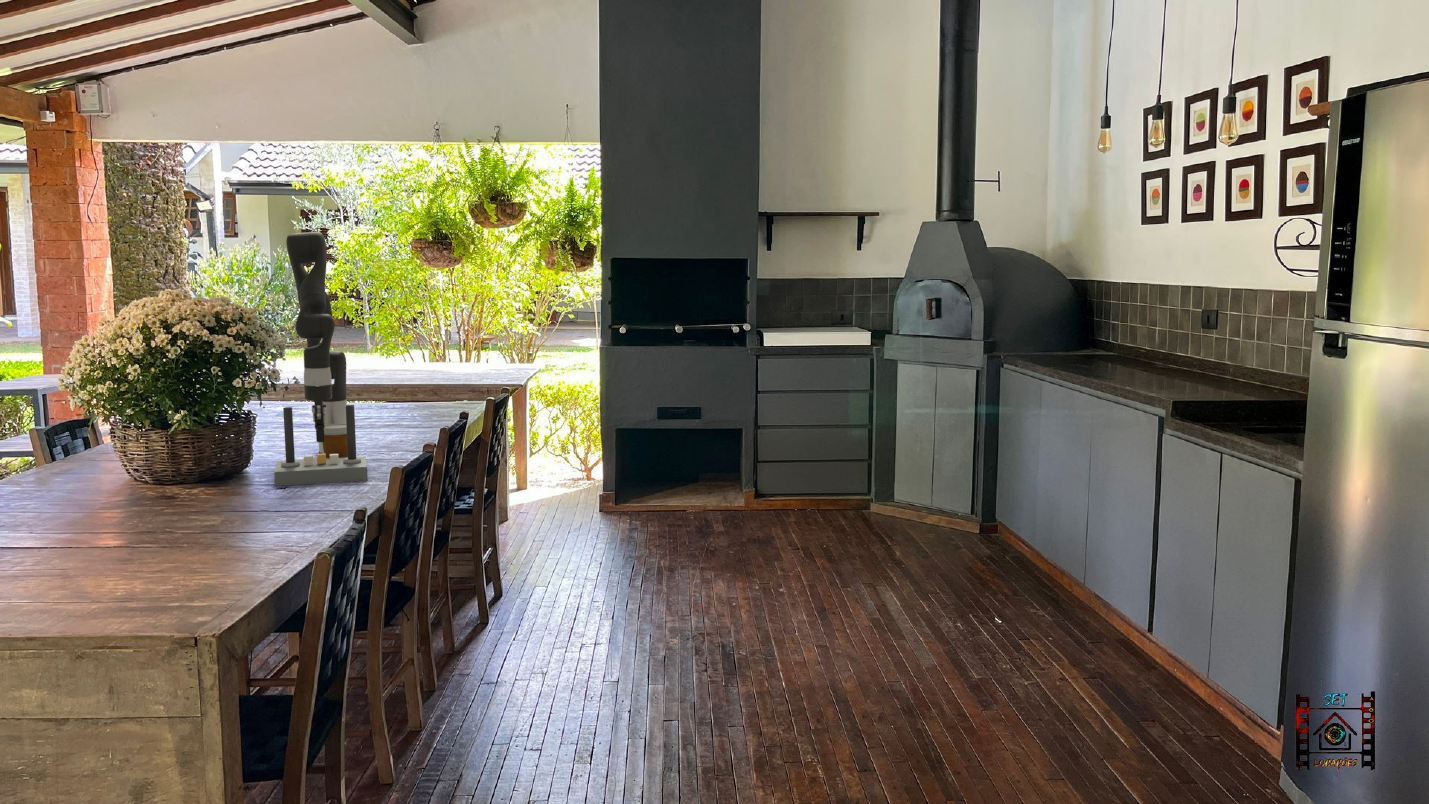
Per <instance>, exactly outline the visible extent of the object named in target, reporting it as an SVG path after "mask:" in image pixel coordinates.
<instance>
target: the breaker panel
mask: <svg viewBox="0 0 1429 804" xmlns="http://www.w3.org/2000/svg"><path fill="white" fill-rule="evenodd" d="M357 457H358V458H361V462H360V463H357V464H345V463H343V459H345V458H339V457H338V454H330V458H327V459H326V463H323V464H317V458H314V454H310V455H308V454H307V455H304V456H303V459H295V461H300V466H297V467H281V462H284V461H285V460H277V461H276V465H275V468H274V472H273V474H274V475H273V476H274V487H278V486H279V487H281V486H294V485H295V486H296V485H310V484H311V485H313V484H329V483H345V482H362V481H365V482H366V481H368V462H367V456H357ZM346 458H348V457H346Z"/></svg>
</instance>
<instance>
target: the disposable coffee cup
mask: <svg viewBox="0 0 1429 804" xmlns="http://www.w3.org/2000/svg"><path fill="white" fill-rule="evenodd" d="M324 438H325V440H324V442H322V443H323V449H324V453H323V454H325V453H326V459H327V458H330V454H338V457H339V458H346V457H348V450H347V426H346V424H328V425H325V428H324Z"/></svg>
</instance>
